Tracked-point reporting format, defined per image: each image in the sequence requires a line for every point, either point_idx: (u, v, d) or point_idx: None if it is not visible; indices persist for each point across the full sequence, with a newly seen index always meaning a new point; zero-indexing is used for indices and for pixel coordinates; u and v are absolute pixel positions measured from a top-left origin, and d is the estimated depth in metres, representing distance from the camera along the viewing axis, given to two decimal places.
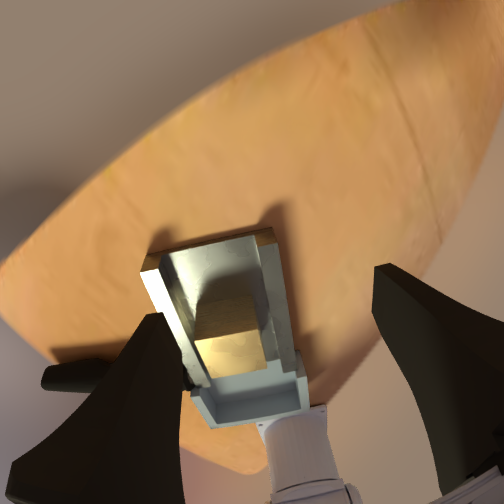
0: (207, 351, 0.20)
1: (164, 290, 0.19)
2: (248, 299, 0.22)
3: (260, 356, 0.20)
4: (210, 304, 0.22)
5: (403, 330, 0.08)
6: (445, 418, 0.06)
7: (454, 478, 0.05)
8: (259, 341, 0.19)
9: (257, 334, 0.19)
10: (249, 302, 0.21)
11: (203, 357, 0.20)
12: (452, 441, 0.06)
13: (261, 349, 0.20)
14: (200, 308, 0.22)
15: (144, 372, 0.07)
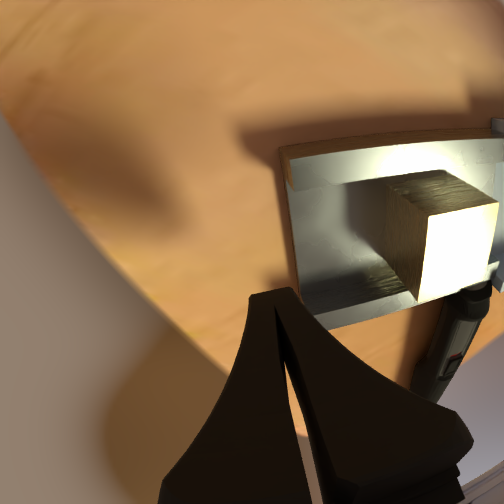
0: (440, 287, 0.12)
1: (341, 310, 0.14)
2: (390, 193, 0.13)
3: (476, 212, 0.10)
4: (386, 243, 0.14)
5: (289, 361, 0.08)
6: (317, 463, 0.06)
7: None
8: (451, 214, 0.10)
9: (438, 217, 0.10)
10: (394, 195, 0.12)
11: (447, 290, 0.12)
12: (323, 490, 0.06)
13: (465, 211, 0.10)
14: (388, 258, 0.14)
15: (279, 350, 0.07)
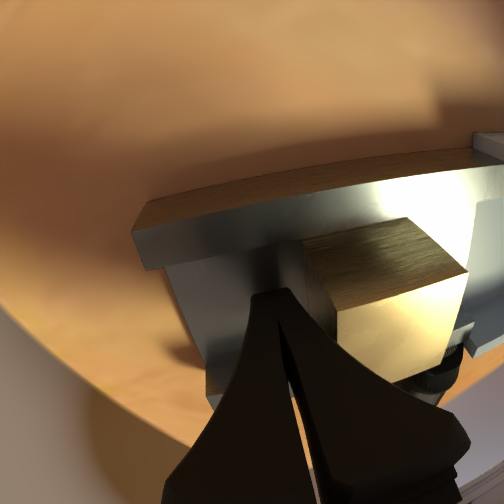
0: None
1: None
2: (306, 255, 0.10)
3: (427, 293, 0.07)
4: (309, 312, 0.11)
5: (287, 362, 0.08)
6: (314, 464, 0.06)
7: None
8: (379, 303, 0.07)
9: (354, 310, 0.07)
10: (308, 260, 0.10)
11: None
12: (320, 490, 0.06)
13: (407, 294, 0.07)
14: None
15: (281, 350, 0.07)
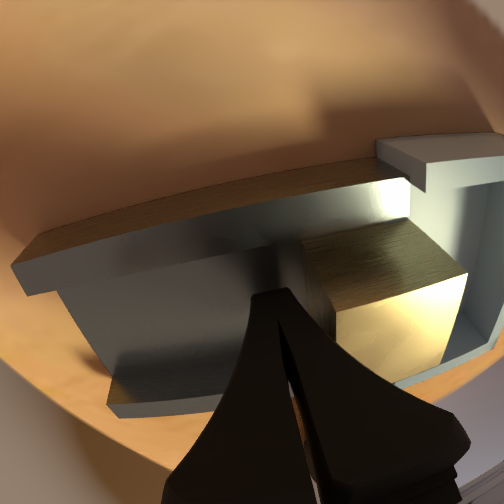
0: None
1: (139, 404, 0.11)
2: (305, 255, 0.10)
3: (426, 294, 0.07)
4: (309, 312, 0.11)
5: (287, 362, 0.08)
6: (314, 464, 0.06)
7: None
8: (378, 303, 0.07)
9: (353, 310, 0.07)
10: (308, 260, 0.10)
11: None
12: (321, 490, 0.06)
13: (406, 295, 0.07)
14: None
15: (281, 350, 0.07)
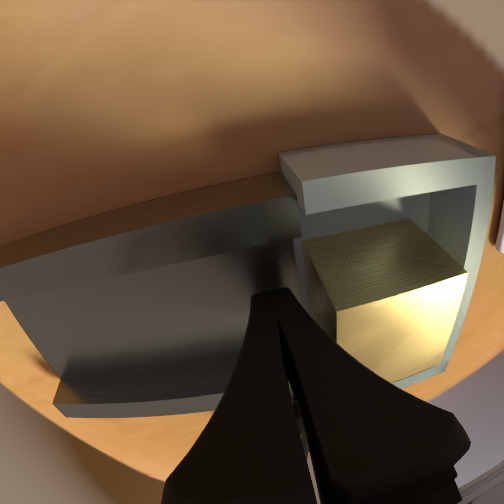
0: None
1: (78, 405, 0.11)
2: (306, 255, 0.10)
3: (426, 293, 0.07)
4: (309, 311, 0.11)
5: (287, 362, 0.08)
6: (314, 464, 0.06)
7: None
8: (378, 302, 0.07)
9: (353, 310, 0.07)
10: (308, 260, 0.10)
11: None
12: (320, 490, 0.06)
13: (406, 294, 0.07)
14: None
15: (281, 350, 0.07)
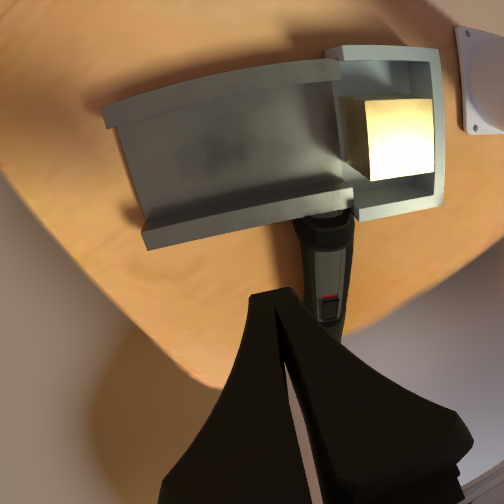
0: (390, 168, 0.14)
1: (167, 227, 0.17)
2: (341, 101, 0.15)
3: (410, 104, 0.13)
4: (345, 146, 0.17)
5: (289, 361, 0.08)
6: (317, 463, 0.06)
7: None
8: (385, 101, 0.13)
9: (373, 102, 0.13)
10: (344, 102, 0.15)
11: (398, 174, 0.15)
12: (323, 489, 0.06)
13: (398, 101, 0.13)
14: (347, 159, 0.17)
15: (279, 350, 0.07)
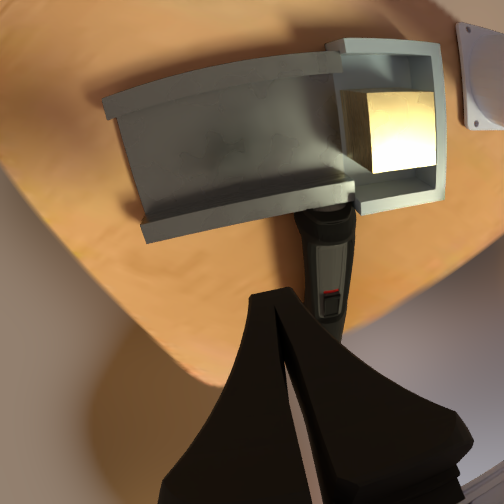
0: (392, 161, 0.14)
1: (167, 220, 0.17)
2: (343, 95, 0.15)
3: (412, 96, 0.13)
4: (346, 139, 0.17)
5: (289, 361, 0.08)
6: (317, 463, 0.06)
7: None
8: (387, 93, 0.12)
9: (375, 94, 0.12)
10: (345, 95, 0.15)
11: (400, 167, 0.14)
12: (323, 489, 0.06)
13: (400, 93, 0.12)
14: (348, 152, 0.17)
15: (279, 350, 0.07)
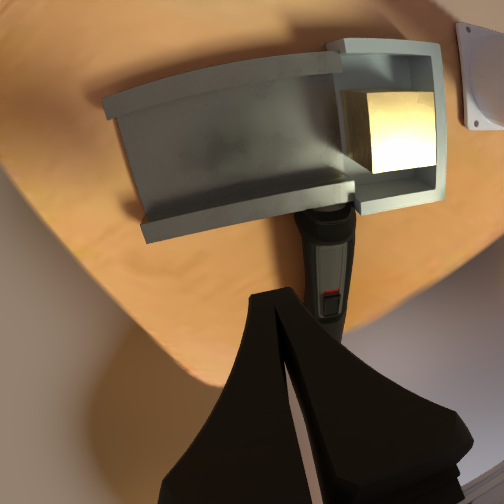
0: (392, 161, 0.14)
1: (167, 220, 0.17)
2: (343, 95, 0.15)
3: (412, 96, 0.13)
4: (346, 139, 0.17)
5: (289, 361, 0.08)
6: (317, 463, 0.06)
7: None
8: (387, 93, 0.12)
9: (375, 94, 0.12)
10: (345, 95, 0.15)
11: (400, 167, 0.14)
12: (323, 489, 0.06)
13: (400, 93, 0.12)
14: (348, 152, 0.17)
15: (279, 350, 0.07)
